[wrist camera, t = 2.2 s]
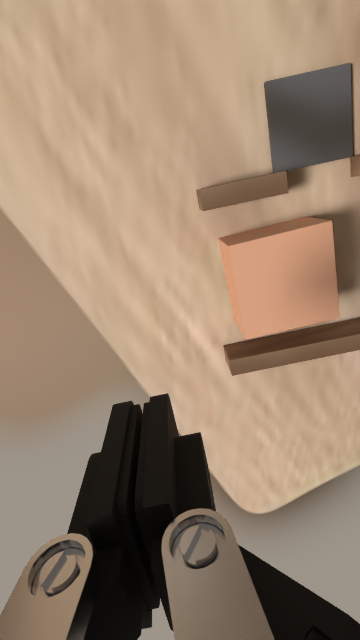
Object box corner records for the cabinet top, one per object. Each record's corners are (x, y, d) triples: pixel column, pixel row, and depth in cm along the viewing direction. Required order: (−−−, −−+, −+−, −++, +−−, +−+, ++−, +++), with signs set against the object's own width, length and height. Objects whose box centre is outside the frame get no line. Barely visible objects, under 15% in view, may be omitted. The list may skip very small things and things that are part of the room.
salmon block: (217, 238, 23) (228, 246, 20) (304, 216, 23) (331, 220, 19) (233, 318, 25) (245, 339, 22) (313, 299, 25) (339, 317, 21)
